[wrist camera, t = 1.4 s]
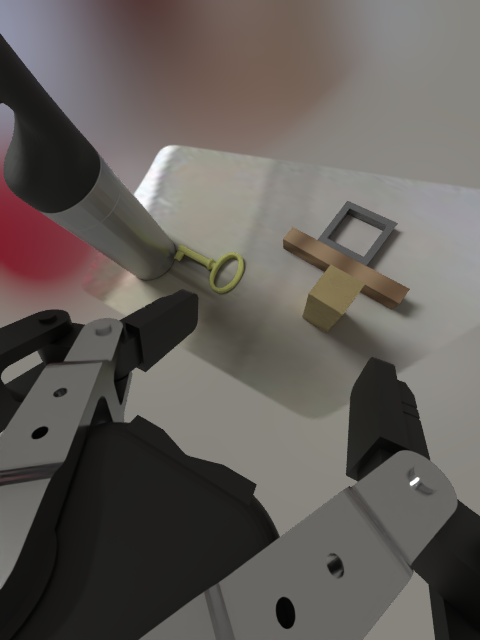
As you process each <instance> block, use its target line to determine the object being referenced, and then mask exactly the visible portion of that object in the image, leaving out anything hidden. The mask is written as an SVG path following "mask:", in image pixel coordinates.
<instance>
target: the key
mask: <svg viewBox="0 0 480 640" xmlns="http://www.w3.org/2000/svg"><path fill="white" fill-rule="evenodd" d="M184 254H185V255H186V256H188V257H190V258H192V259H194V260H196V261H198V262H200V263H201V264H203V265H205V266H207V269H208V270H210V269H212V271H211V273H210V279H209V283H210V286H211V288H212V289H213V290H214V291H215V292H217V293H225V292H227V291H229V290H231V289H232V288H233V287H234V286H235V285H236V284H237V283H238V282H239V280H240V278H241V277H242V274H243V272H244V261H243V258H242V257H241V256H240V255H239V254H237V253H235V252H230V253H227V254H225V255H223V256H222V257H221V258H220V259H219V260H218V261H217V262H216V263H215V261H214V259H210V260H209V259H207V258H205V257H203V256H201V255H200V254H198V253H196V252H194V251H192V250H190V249H188V248H186V247H184V246H182V245H180V246H179V247H178V252H177V254H176V255H175V257H174V258H175V259H177V260H178V261H180V260H181V259H182V257H183V256H184ZM230 258H236V259H238V262H239V266H238V271H237V273H236V275H235V277H234V279H233V280H232V281H231V282H230V283H229V284H228V285H226V286H225V287H223V288H217V287H216V286H215V285H214V279H215V276H216V273H217V271H218V270H219V268H220V267H221V265H222V264H223V263H224V262H225V261H226V260H228V259H230Z"/></svg>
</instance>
